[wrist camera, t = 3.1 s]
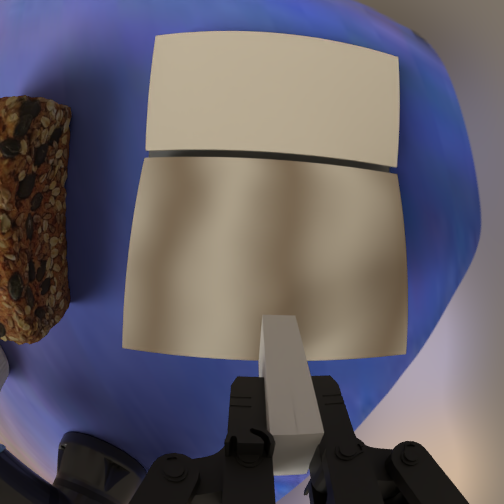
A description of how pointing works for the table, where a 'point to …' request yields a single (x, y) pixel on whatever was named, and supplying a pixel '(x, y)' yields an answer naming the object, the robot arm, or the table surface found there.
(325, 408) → the robot arm
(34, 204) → the bread
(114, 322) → the table surface
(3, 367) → the ramekin
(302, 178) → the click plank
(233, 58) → the floor base
